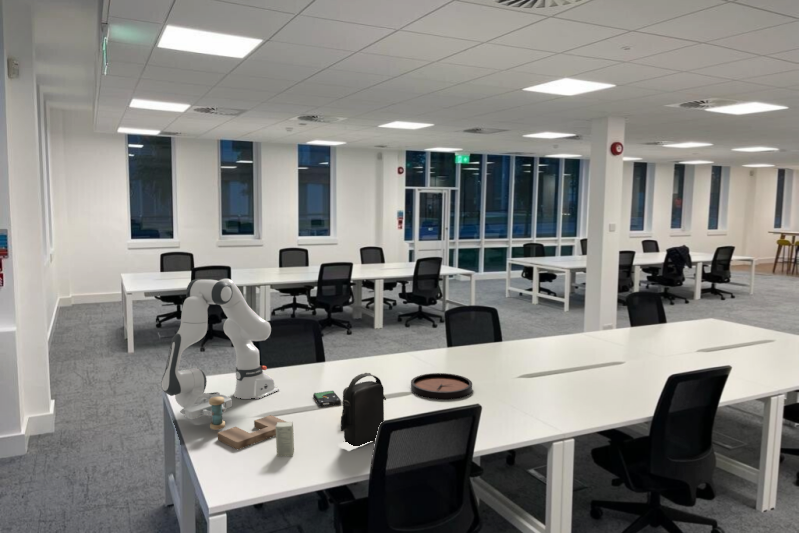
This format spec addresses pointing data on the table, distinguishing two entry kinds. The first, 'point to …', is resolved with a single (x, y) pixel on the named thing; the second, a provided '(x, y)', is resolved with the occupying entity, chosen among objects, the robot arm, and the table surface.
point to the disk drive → (327, 398)
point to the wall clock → (441, 386)
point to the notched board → (242, 438)
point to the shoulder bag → (362, 410)
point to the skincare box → (284, 439)
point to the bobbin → (217, 413)
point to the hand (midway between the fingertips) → (218, 412)
